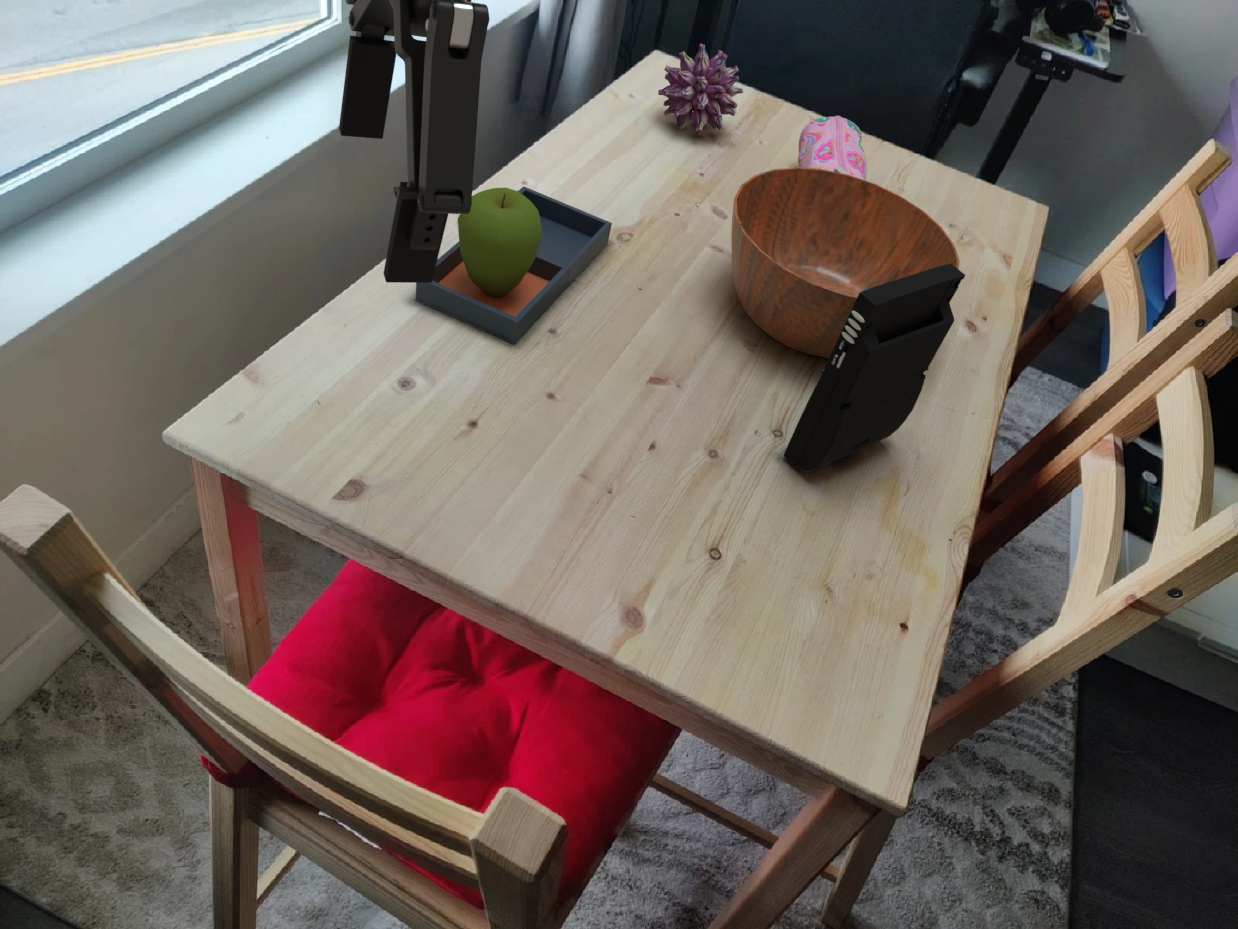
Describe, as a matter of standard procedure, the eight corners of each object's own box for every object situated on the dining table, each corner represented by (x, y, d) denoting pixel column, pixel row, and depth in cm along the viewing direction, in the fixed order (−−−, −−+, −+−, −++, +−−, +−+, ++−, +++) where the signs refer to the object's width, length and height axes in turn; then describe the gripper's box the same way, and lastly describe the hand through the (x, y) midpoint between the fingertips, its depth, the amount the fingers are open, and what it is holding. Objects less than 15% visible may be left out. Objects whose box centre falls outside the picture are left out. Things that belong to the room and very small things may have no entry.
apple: (469, 257, 100) (476, 161, 92) (542, 278, 100) (557, 184, 92) (441, 301, 94) (447, 203, 86) (520, 324, 94) (533, 227, 86)
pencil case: (860, 260, 116) (889, 197, 109) (791, 244, 115) (815, 180, 109) (850, 177, 131) (874, 117, 124) (788, 162, 130) (810, 102, 124)
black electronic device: (861, 419, 94) (946, 258, 80) (892, 449, 92) (985, 289, 78) (777, 455, 88) (853, 288, 74) (808, 487, 86) (892, 321, 72)
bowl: (883, 263, 116) (921, 183, 108) (942, 398, 99) (992, 315, 91) (694, 239, 112) (718, 153, 104) (721, 376, 95) (753, 286, 87)
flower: (659, 114, 137) (739, 115, 136) (655, 149, 128) (741, 150, 127) (660, 33, 129) (745, 33, 128) (656, 64, 120) (747, 65, 119)
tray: (514, 344, 92) (517, 322, 90) (415, 300, 94) (416, 277, 92) (607, 243, 108) (612, 222, 106) (521, 207, 110) (523, 185, 108)
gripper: (615, -14, 37) (494, 347, 52) (457, -265, 49) (398, 88, 65) (434, -46, 33) (362, 351, 49) (313, -308, 46) (287, 76, 61)
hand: (382, 202), depth 57 cm, fingers open, 13 cm apart
